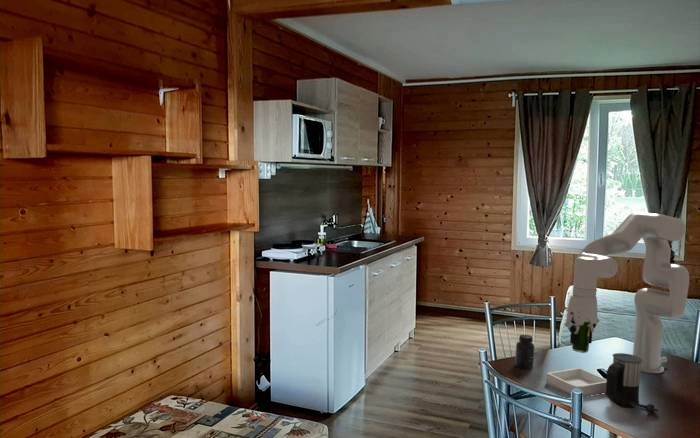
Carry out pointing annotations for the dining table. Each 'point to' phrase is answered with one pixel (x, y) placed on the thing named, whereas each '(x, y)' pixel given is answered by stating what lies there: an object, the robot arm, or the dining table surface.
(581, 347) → the beer can
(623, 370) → the milk frother
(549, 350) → the dining table surface
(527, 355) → the supplement bottle
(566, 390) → the tray
